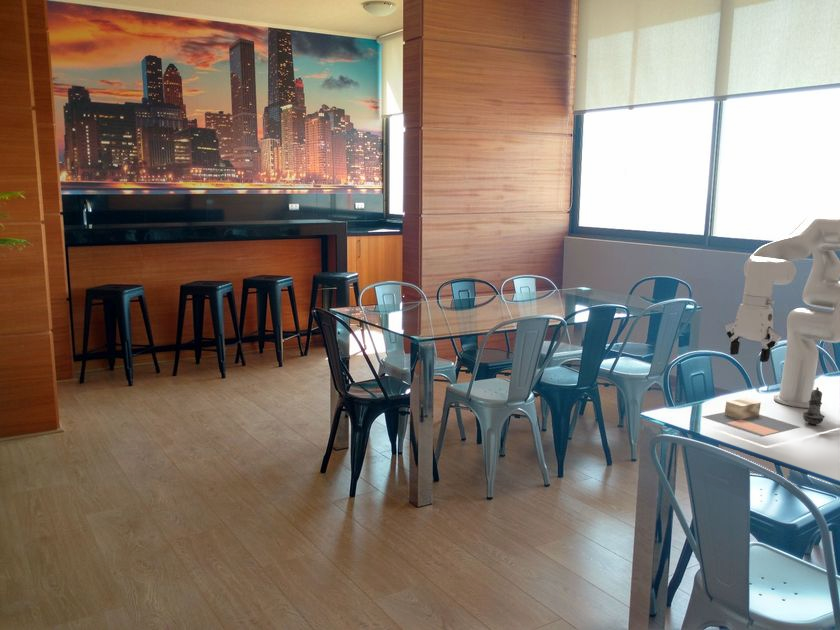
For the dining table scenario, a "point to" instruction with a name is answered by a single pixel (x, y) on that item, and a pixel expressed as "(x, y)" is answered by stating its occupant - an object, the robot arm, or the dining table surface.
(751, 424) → the mat
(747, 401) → the light wood block
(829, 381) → the dining table surface
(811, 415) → the dark grey tower figurine
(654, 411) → the dining table surface
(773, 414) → the dining table surface
